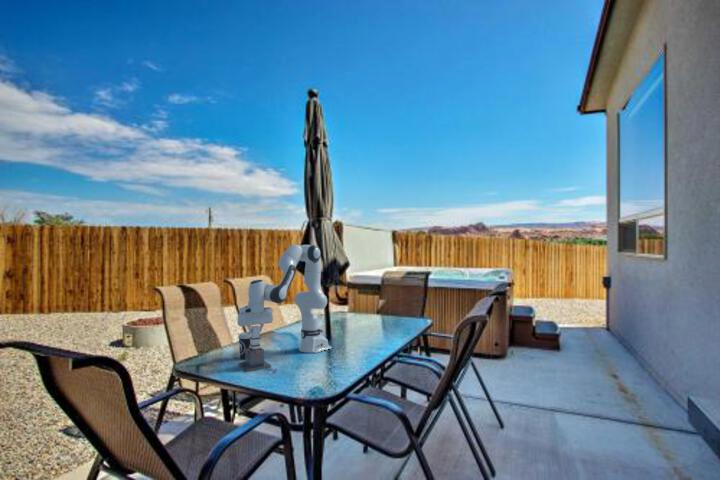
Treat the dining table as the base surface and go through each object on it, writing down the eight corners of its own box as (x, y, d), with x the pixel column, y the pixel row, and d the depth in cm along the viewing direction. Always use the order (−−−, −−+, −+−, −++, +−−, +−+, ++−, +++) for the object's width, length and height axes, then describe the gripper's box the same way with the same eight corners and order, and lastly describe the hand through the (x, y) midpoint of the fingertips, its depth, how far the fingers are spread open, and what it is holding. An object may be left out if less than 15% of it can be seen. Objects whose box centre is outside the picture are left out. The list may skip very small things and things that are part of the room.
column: (256, 353, 211) (257, 325, 212) (259, 355, 208) (260, 326, 209) (249, 354, 209) (250, 326, 209) (252, 356, 205) (253, 327, 206)
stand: (260, 361, 218) (261, 344, 218) (270, 367, 207) (271, 349, 207) (237, 365, 209) (238, 348, 210) (246, 372, 198) (247, 353, 199)
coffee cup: (248, 360, 219) (249, 335, 219) (234, 359, 221) (235, 334, 221) (256, 356, 228) (257, 332, 229) (242, 355, 230) (243, 331, 230)
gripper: (270, 306, 218) (269, 329, 218) (236, 308, 206) (236, 333, 205) (275, 307, 213) (274, 331, 213) (240, 310, 201) (239, 335, 200)
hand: (255, 332), depth 209 cm, fingers open, 4 cm apart
